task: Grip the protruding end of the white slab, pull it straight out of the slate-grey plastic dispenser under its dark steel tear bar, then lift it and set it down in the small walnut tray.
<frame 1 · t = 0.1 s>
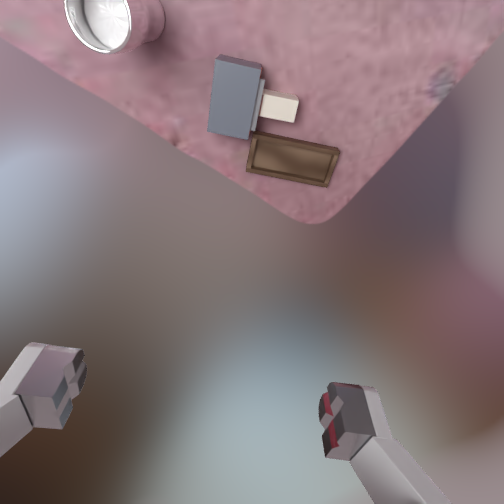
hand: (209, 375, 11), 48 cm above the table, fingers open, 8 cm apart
dispenser: (235, 93, 49), on the table
beer glass: (143, 15, 44), on the table
tray: (291, 157, 55), on the table
white slab: (259, 98, 50), on the table
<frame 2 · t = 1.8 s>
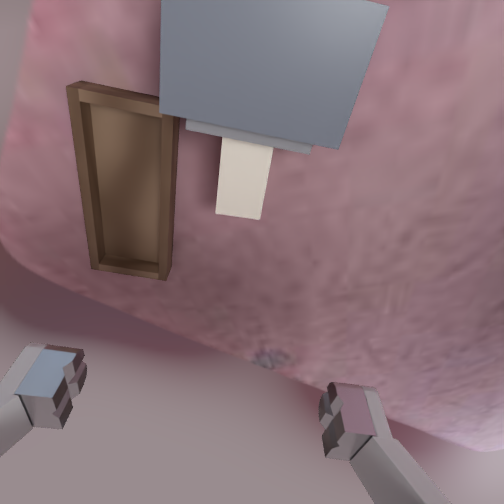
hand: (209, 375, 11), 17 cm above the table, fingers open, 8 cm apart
dispenser: (263, 51, 20), on the table
tray: (134, 190, 25), on the table
white slab: (251, 114, 22), on the table
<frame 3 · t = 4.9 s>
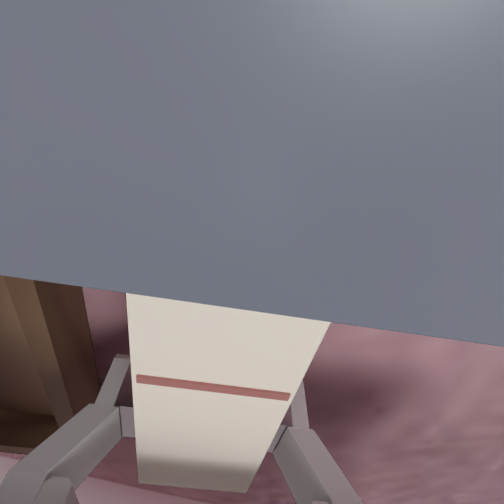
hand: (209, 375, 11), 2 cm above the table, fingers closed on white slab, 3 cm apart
white slab: (233, 237, 9), on the table, touching gripper
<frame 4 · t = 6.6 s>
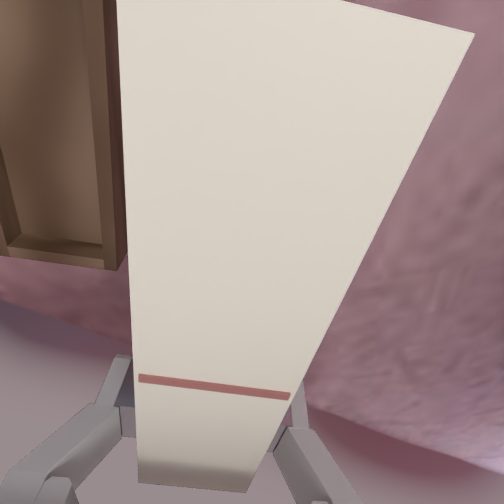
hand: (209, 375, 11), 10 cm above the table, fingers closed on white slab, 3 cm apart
tray: (56, 122, 16), on the table
white slab: (234, 238, 9), point 9 cm above the table, touching gripper
when the fingers open (3 cm above the table, at t = 9.4 s): white slab stays where it is, resting on tray.
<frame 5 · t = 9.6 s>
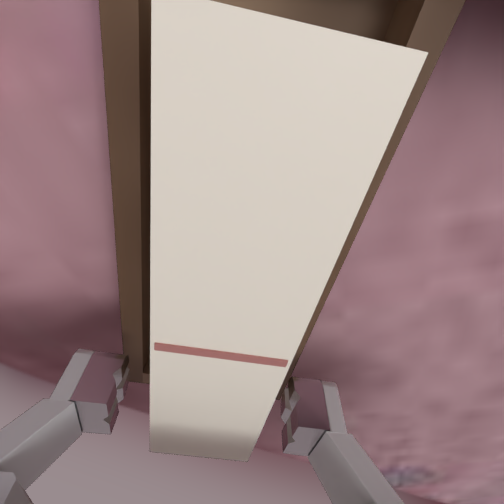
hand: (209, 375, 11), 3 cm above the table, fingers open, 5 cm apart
tray: (235, 217, 11), on the table
white slab: (236, 228, 10), point 1 cm above the table, touching tray
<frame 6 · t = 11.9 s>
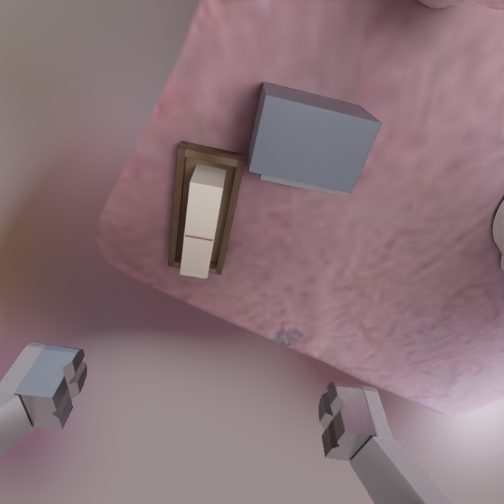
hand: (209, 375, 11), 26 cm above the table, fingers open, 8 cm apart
dispenser: (302, 127, 31), on the table
tray: (204, 210, 36), on the table
white slab: (204, 213, 36), point 1 cm above the table, touching tray
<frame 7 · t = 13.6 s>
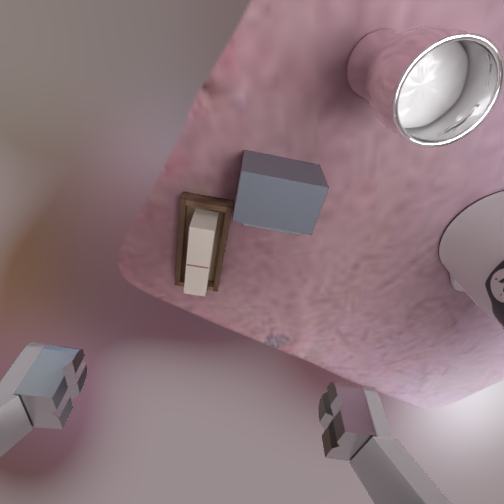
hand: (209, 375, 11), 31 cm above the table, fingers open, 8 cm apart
dispenser: (276, 180, 40), on the table
beer glass: (376, 65, 32), on the table
tray: (203, 241, 45), on the table
white slab: (202, 244, 45), point 1 cm above the table, touching tray
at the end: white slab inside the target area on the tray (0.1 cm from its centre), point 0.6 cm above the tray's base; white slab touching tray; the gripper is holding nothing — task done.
